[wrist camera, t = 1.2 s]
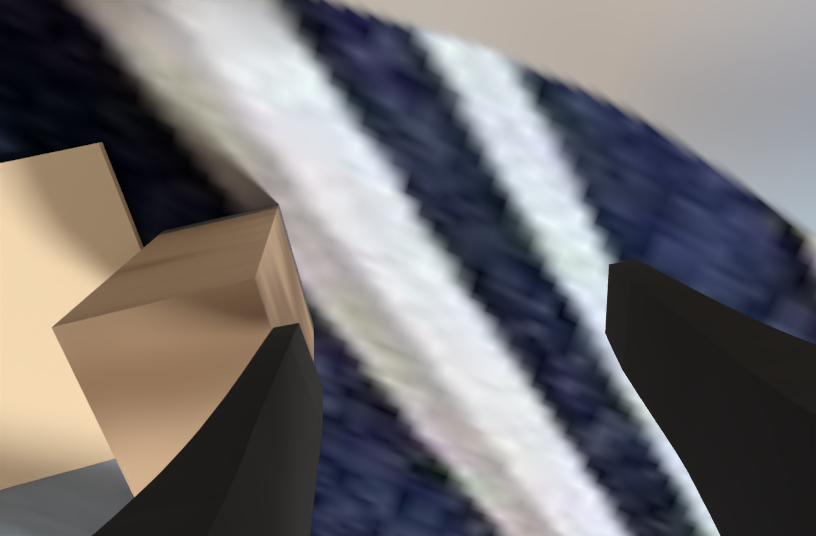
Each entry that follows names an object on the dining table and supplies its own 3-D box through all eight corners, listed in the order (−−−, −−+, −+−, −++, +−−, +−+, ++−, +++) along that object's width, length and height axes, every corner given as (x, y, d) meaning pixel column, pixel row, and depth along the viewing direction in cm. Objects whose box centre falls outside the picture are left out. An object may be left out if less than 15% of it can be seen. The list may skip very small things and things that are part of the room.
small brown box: (313, 324, 24) (314, 463, 15) (208, 351, 24) (141, 513, 14) (278, 204, 22) (254, 278, 13) (163, 230, 22) (51, 327, 12)
